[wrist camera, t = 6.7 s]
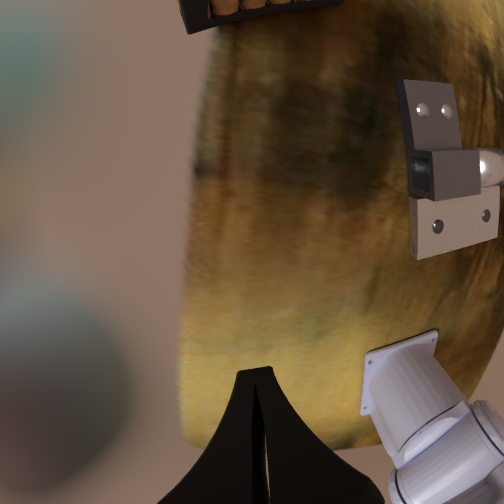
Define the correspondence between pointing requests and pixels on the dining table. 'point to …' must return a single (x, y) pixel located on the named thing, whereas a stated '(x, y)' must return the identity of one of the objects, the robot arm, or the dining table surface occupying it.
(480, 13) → the dining table surface
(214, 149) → the dining table surface
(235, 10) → the ammunition clip
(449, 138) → the loose leaf
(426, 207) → the fixed leaf
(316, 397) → the dining table surface
